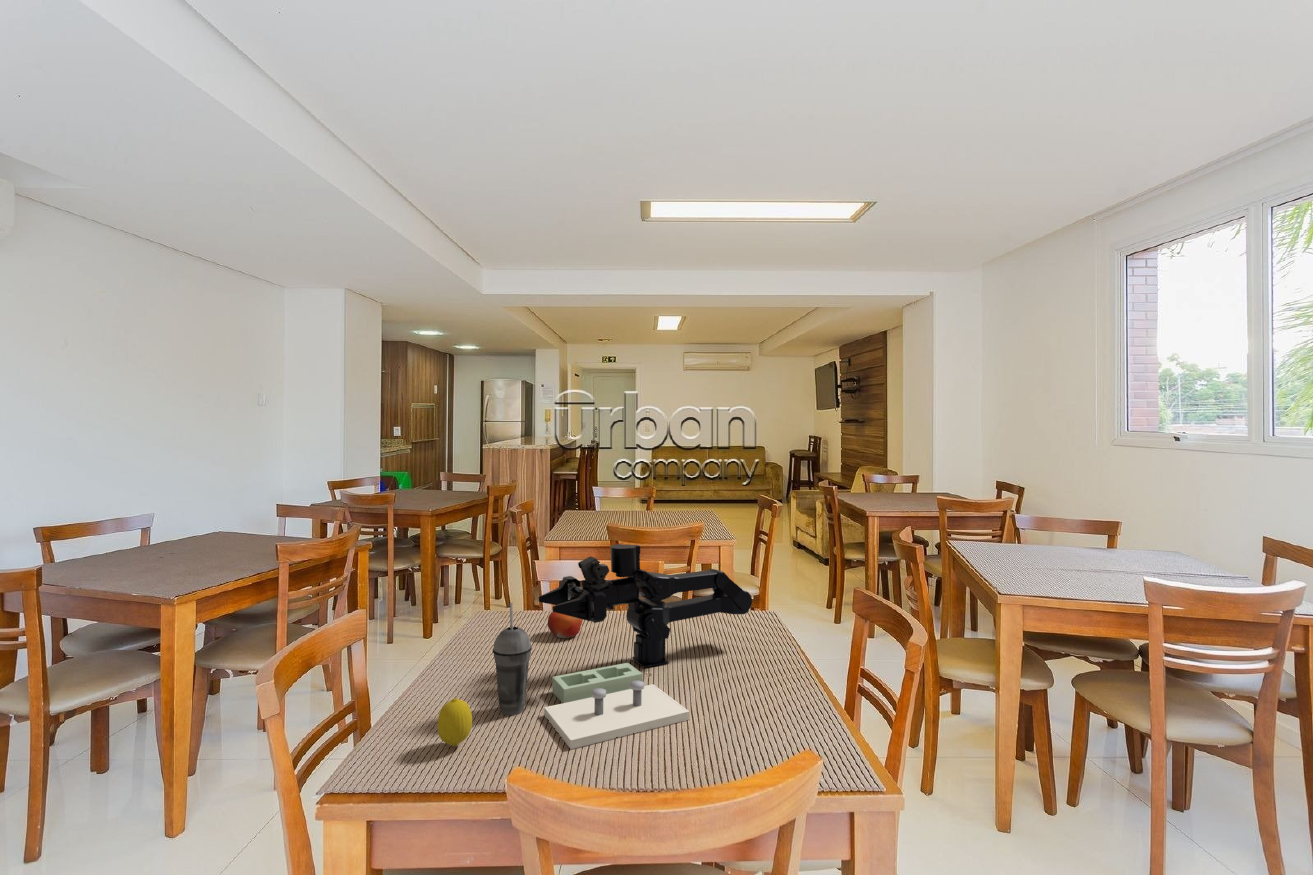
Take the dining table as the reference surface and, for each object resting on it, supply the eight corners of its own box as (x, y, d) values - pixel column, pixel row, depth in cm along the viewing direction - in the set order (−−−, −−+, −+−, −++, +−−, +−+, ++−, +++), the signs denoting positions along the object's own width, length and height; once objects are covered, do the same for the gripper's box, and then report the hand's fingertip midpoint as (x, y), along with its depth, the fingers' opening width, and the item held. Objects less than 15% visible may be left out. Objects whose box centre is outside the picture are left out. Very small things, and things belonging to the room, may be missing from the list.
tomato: (580, 641, 153) (580, 610, 153) (544, 641, 153) (544, 610, 153) (585, 630, 162) (585, 600, 162) (551, 630, 162) (551, 600, 162)
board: (653, 691, 123) (653, 664, 123) (689, 719, 110) (689, 689, 110) (544, 715, 112) (544, 685, 112) (570, 749, 99) (571, 716, 99)
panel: (627, 676, 130) (627, 662, 130) (642, 688, 124) (642, 673, 124) (552, 691, 122) (552, 676, 122) (564, 705, 116) (564, 689, 116)
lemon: (442, 738, 103) (442, 691, 103) (475, 737, 103) (475, 690, 103) (432, 755, 97) (433, 706, 97) (467, 754, 98) (468, 705, 98)
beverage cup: (496, 722, 109) (497, 611, 109) (488, 706, 115) (489, 601, 115) (536, 714, 112) (537, 606, 112) (525, 699, 119) (526, 597, 119)
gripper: (594, 550, 143) (530, 558, 135) (630, 563, 126) (559, 574, 119) (596, 597, 143) (532, 608, 135) (631, 616, 126) (561, 630, 119)
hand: (545, 604), depth 127 cm, fingers open, 9 cm apart
